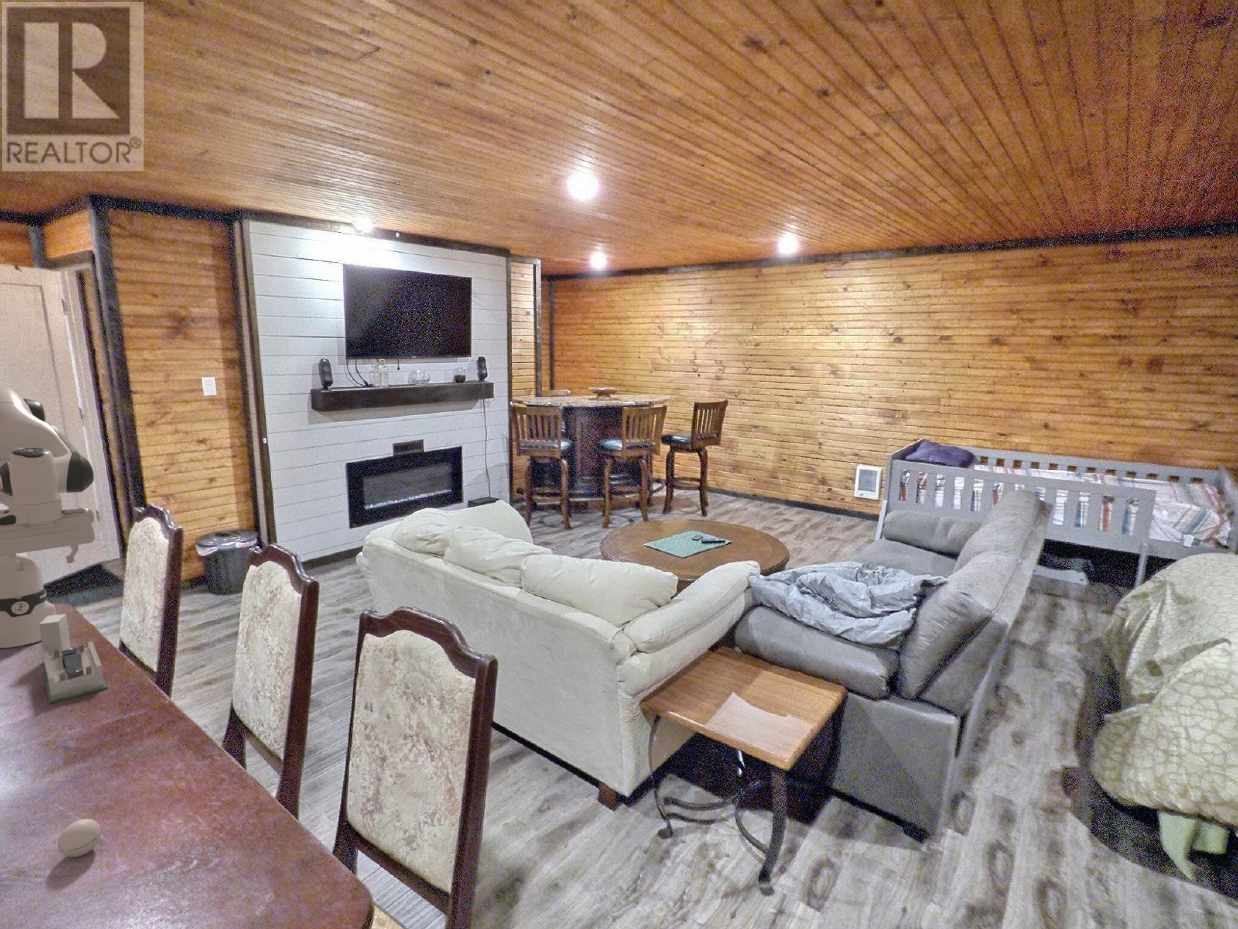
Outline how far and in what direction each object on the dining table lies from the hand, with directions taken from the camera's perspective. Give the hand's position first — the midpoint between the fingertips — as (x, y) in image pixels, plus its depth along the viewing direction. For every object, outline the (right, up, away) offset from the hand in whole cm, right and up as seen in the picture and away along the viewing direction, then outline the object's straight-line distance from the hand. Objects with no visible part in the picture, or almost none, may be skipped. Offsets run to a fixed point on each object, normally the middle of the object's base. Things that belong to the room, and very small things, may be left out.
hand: (46, 566), depth 160 cm
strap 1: (+1, -24, +6) cm, 24 cm away
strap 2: (+8, -25, -1) cm, 26 cm away
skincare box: (-10, -28, +14) cm, 33 cm away
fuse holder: (+4, -30, +3) cm, 31 cm away
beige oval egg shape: (+55, -41, -52) cm, 86 cm away
